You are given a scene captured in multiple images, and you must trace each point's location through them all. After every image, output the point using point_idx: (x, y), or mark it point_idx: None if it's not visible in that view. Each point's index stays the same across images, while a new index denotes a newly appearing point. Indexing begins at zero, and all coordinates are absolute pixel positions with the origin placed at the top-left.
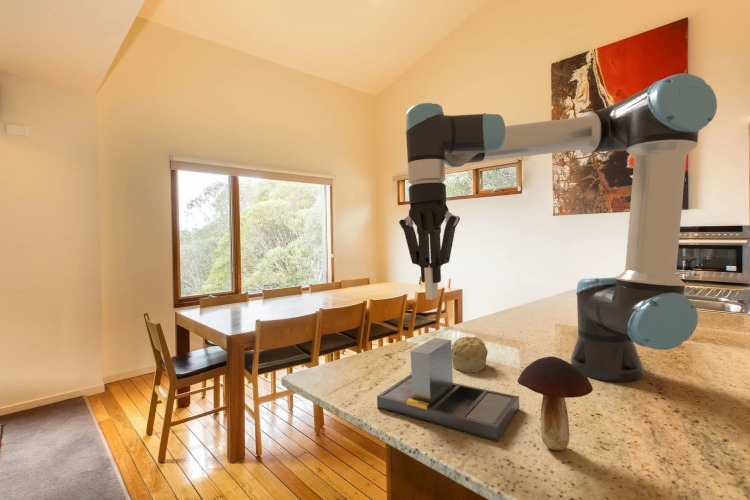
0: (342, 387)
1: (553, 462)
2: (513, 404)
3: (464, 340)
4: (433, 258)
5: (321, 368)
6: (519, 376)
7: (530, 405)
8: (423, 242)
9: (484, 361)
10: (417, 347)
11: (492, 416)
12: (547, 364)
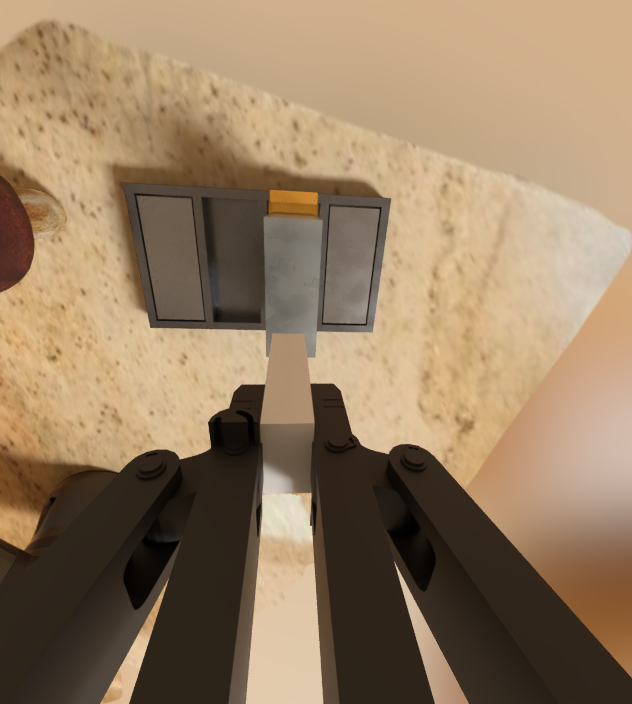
0: (493, 249)
1: (33, 164)
2: (144, 293)
3: None
4: (224, 485)
5: (577, 311)
6: (13, 208)
7: (149, 340)
8: (344, 689)
9: None
10: (319, 259)
11: (151, 225)
12: None
